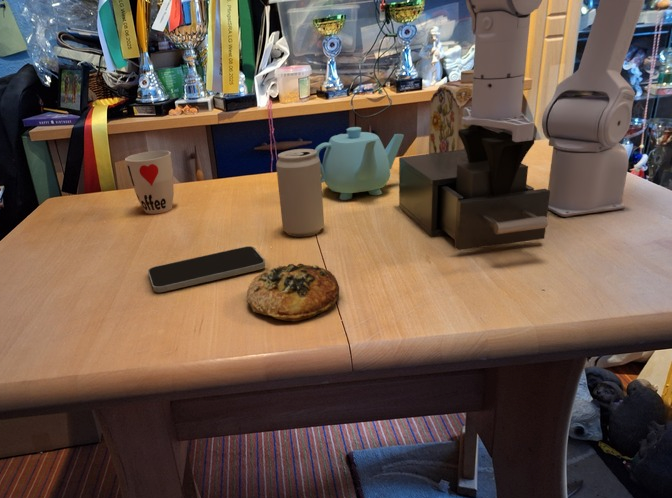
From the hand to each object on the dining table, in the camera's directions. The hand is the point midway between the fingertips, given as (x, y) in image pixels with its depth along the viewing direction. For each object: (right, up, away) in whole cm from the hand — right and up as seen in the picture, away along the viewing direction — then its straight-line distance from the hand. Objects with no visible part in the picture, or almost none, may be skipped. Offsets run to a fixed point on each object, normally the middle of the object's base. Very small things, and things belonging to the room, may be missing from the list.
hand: (490, 188), depth 72 cm
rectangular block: (0, -1, +1) cm, 1 cm away
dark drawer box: (+1, -5, +3) cm, 6 cm away
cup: (-49, +2, +32) cm, 59 cm away
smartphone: (-37, -11, +3) cm, 39 cm away
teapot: (-12, +5, +30) cm, 32 cm away
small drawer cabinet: (0, -2, +13) cm, 13 cm away
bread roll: (-26, -15, -7) cm, 31 cm away
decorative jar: (+9, +10, +33) cm, 36 cm away
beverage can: (-23, -4, +14) cm, 27 cm away
